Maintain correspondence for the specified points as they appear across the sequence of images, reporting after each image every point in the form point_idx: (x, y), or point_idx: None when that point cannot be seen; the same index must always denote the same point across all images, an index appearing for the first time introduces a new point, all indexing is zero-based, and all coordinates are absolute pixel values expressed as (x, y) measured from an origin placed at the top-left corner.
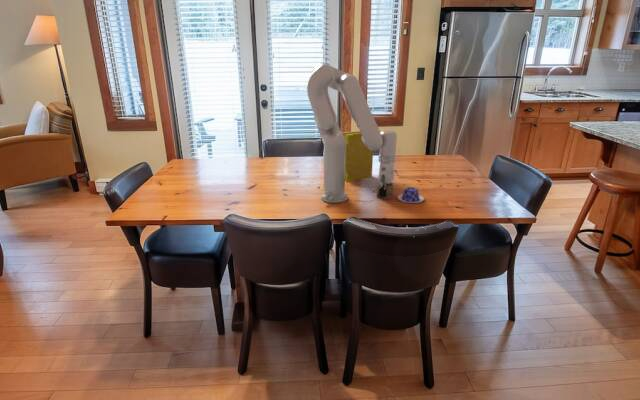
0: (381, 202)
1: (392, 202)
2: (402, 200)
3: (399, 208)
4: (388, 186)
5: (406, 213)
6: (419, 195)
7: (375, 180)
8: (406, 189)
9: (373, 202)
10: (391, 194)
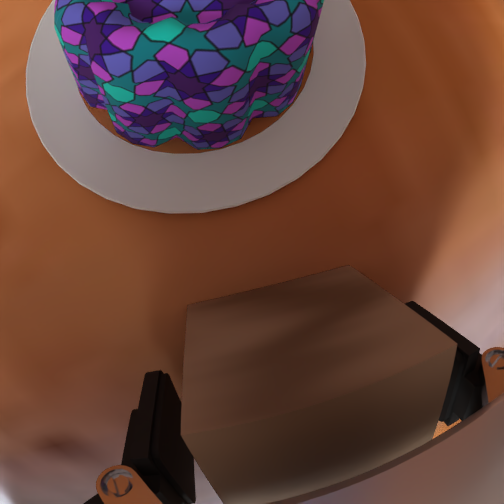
0: (450, 280)
1: (418, 187)
2: (315, 98)
3: (481, 86)
4: (431, 385)
5: (500, 32)
6: (50, 7)
7: (36, 495)
8: (286, 6)
9: (462, 329)
10: (258, 301)
